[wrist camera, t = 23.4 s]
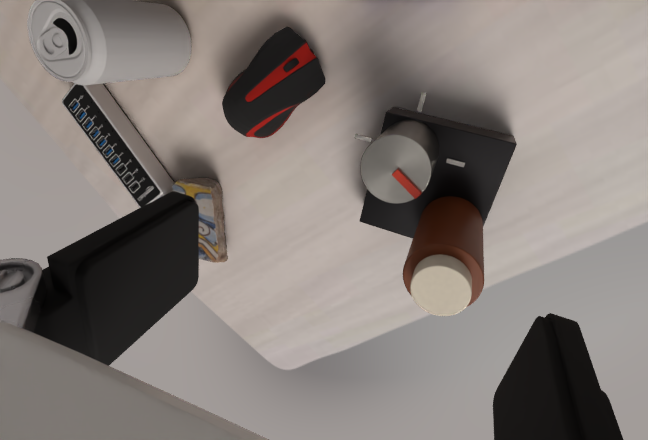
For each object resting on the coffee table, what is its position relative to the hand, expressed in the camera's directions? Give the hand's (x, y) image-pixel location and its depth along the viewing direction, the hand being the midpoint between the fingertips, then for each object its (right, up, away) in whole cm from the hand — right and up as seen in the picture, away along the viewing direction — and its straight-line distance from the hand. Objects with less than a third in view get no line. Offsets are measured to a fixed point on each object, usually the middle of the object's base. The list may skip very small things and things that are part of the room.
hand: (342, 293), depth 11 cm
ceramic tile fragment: (-19, +5, +34) cm, 39 cm away
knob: (+6, +8, +21) cm, 23 cm away
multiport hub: (-23, +11, +35) cm, 43 cm away
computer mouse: (-5, +14, +26) cm, 30 cm away
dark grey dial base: (+8, +7, +24) cm, 26 cm away
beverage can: (-16, +20, +28) cm, 38 cm away
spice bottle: (+10, +2, +22) cm, 25 cm away
